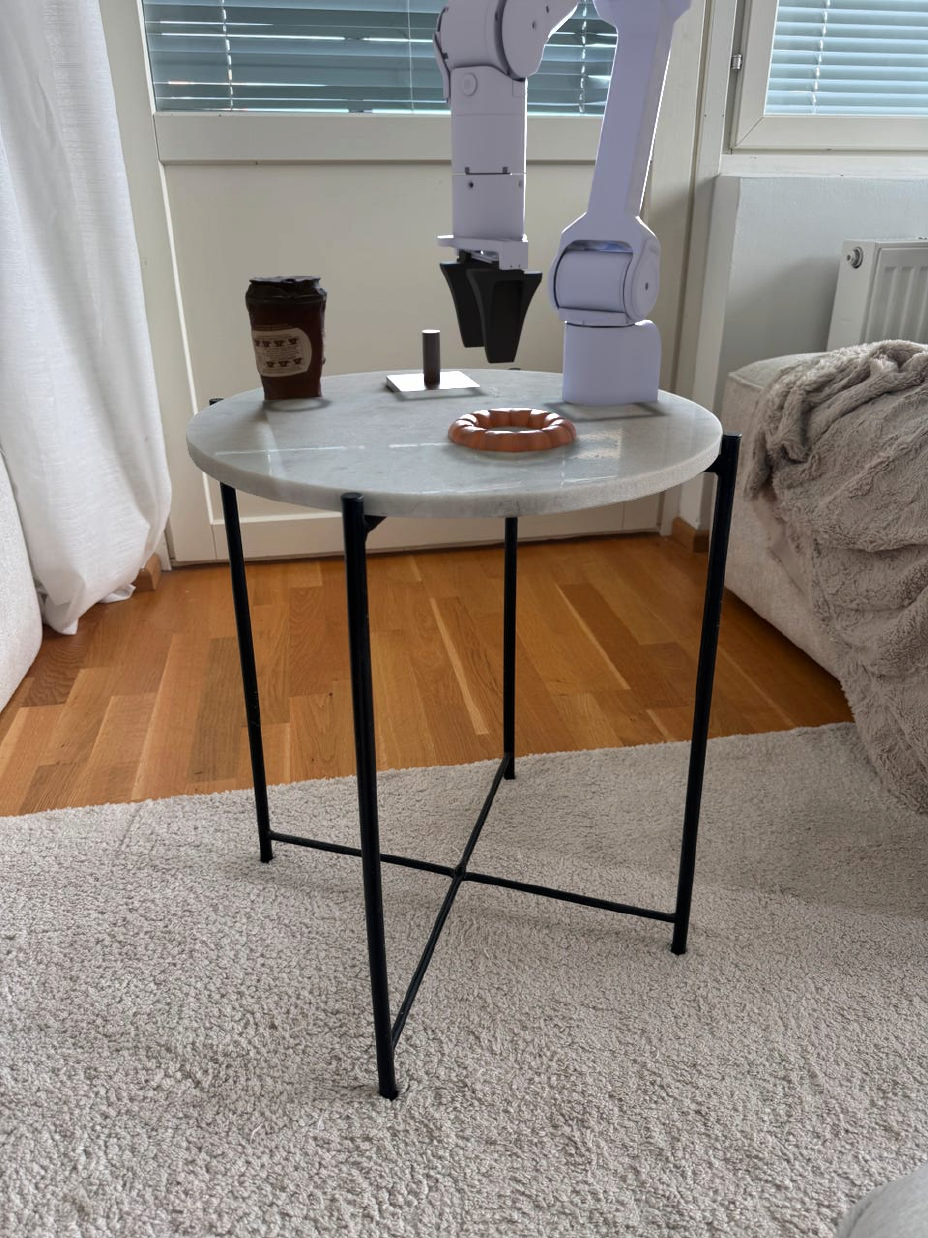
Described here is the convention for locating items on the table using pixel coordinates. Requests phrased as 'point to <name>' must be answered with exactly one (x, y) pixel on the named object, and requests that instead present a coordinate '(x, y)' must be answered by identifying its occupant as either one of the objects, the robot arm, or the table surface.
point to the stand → (430, 371)
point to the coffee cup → (288, 334)
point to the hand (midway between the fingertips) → (487, 354)
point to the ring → (547, 436)
